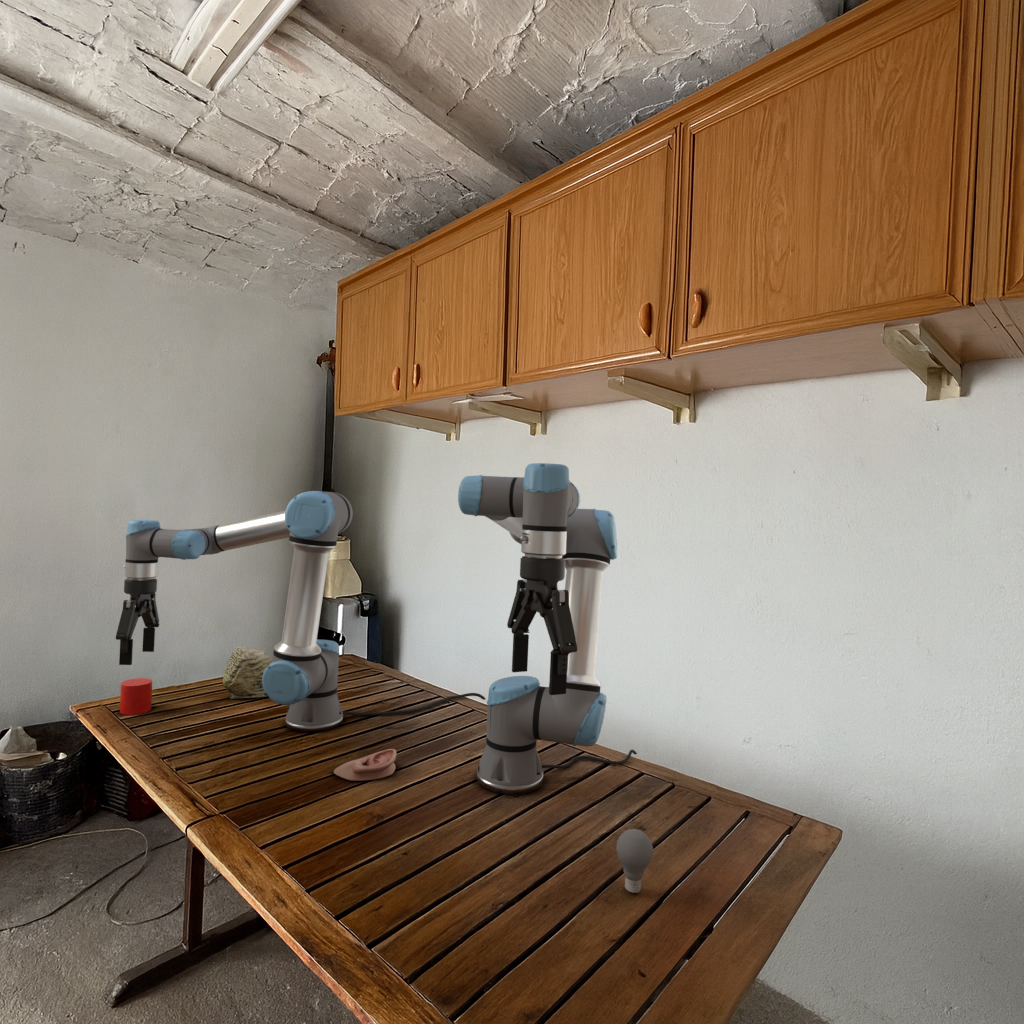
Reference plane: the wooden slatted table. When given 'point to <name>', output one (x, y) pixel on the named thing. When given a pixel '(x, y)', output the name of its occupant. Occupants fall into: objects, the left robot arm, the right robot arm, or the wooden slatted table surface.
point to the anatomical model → (369, 766)
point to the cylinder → (135, 696)
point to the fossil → (246, 673)
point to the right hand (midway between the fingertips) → (537, 682)
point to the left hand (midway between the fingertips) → (137, 657)
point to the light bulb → (634, 857)
